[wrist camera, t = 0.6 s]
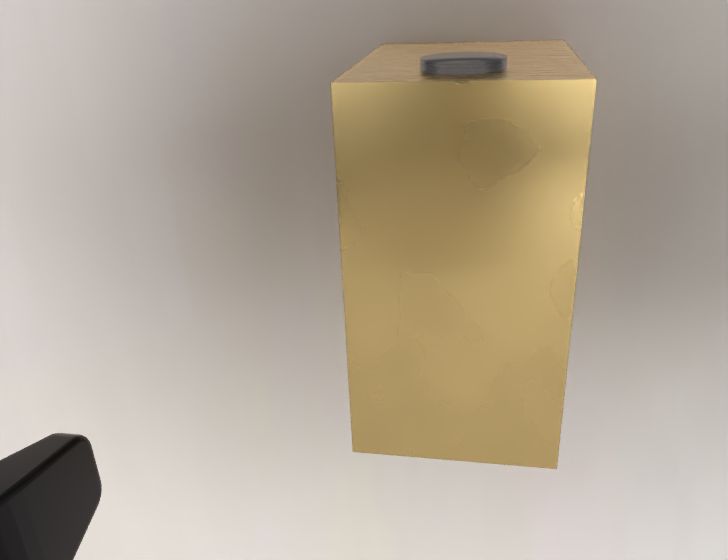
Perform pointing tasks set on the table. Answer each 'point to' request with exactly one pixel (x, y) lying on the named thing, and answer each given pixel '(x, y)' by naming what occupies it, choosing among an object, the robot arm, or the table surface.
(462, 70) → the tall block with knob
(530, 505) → the table surface
